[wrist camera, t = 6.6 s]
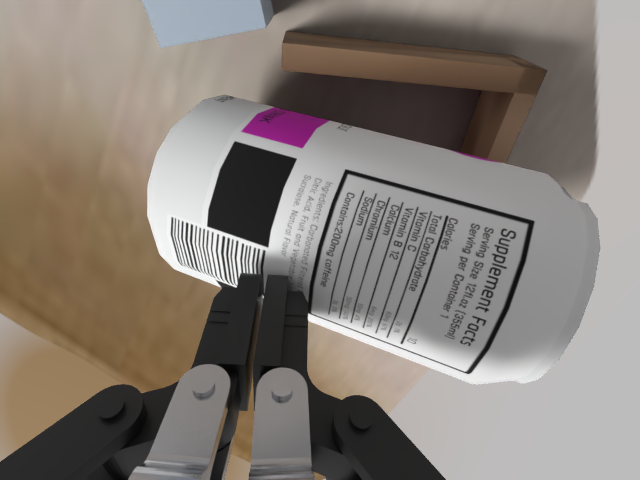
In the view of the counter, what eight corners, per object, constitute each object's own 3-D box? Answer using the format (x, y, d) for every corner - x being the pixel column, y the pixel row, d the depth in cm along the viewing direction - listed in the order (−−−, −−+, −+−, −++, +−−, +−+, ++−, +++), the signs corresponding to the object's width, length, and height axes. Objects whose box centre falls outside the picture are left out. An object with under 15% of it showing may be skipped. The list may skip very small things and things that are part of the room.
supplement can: (218, 49, 15) (616, 134, 12) (258, 175, 22) (511, 250, 19) (93, 199, 12) (610, 383, 8) (189, 291, 19) (484, 409, 15)
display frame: (286, 31, 16) (282, 42, 14) (514, 55, 17) (547, 70, 15) (278, 238, 24) (275, 269, 21) (439, 248, 25) (453, 278, 22)
